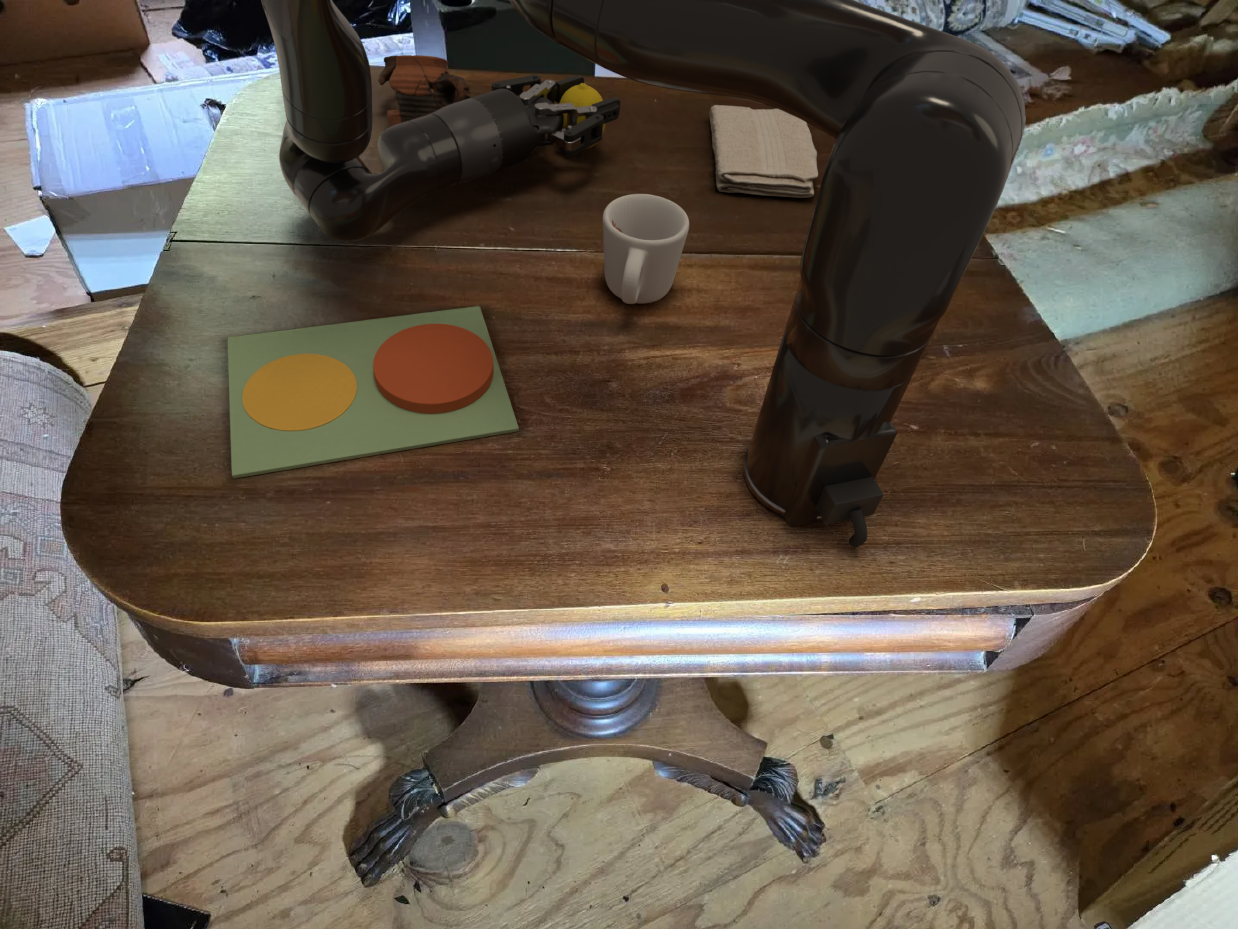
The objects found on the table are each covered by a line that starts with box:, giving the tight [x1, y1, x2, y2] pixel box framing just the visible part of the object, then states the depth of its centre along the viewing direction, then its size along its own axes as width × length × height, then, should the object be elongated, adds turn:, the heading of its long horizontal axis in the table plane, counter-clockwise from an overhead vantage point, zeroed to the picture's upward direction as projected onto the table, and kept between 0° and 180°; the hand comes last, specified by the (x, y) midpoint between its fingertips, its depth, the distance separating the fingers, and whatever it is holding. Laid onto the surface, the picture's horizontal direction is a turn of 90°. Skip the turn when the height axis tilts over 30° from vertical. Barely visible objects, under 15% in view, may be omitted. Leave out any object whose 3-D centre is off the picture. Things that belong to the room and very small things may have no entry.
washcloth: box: [708, 104, 819, 199], centre depth 101 cm, size 12×18×3 cm, turn 0°
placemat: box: [226, 305, 520, 480], centre depth 71 cm, size 16×22×2 cm
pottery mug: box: [377, 54, 471, 127], centre depth 100 cm, size 12×10×8 cm
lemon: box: [558, 82, 606, 153], centre depth 97 cm, size 6×6×8 cm
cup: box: [602, 193, 690, 305], centre depth 80 cm, size 11×8×8 cm
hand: (599, 95), depth 96 cm, fingers open, 5 cm apart
